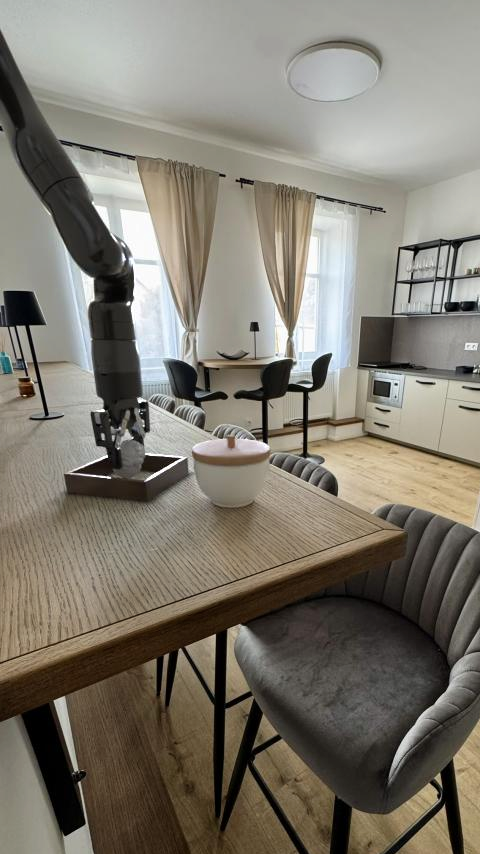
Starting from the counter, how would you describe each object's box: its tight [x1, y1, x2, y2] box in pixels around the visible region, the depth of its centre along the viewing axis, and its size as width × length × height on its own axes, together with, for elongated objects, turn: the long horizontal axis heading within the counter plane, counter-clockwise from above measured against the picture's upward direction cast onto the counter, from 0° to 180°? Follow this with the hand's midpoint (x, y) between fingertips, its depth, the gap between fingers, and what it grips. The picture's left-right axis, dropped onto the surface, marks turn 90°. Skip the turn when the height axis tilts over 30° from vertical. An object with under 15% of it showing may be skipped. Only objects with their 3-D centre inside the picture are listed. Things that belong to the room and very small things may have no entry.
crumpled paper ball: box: [113, 439, 147, 479], centre depth 75 cm, size 6×7×7 cm
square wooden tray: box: [63, 453, 190, 503], centre depth 76 cm, size 16×16×4 cm
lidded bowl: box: [191, 434, 271, 509], centre depth 68 cm, size 13×13×11 cm
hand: (128, 462), depth 75 cm, fingers closed on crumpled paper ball, 7 cm apart
